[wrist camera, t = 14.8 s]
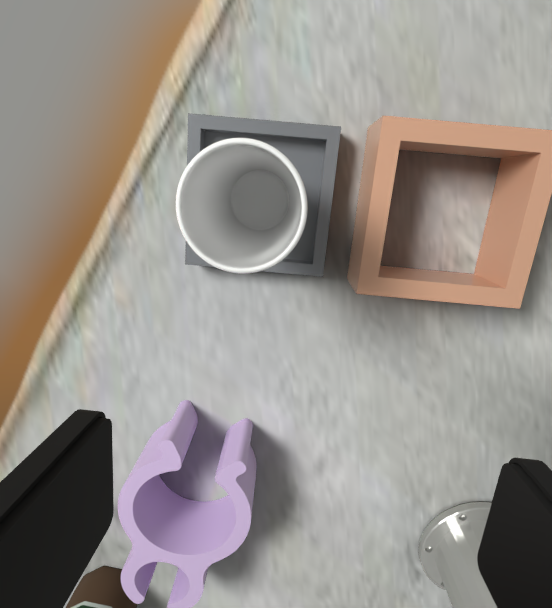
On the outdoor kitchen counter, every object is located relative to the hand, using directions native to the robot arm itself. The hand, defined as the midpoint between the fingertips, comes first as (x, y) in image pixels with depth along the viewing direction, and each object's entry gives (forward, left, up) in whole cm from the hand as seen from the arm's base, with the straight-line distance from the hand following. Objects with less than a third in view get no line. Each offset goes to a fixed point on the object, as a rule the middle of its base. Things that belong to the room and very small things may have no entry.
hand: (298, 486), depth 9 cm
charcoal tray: (+3, -6, -28) cm, 29 cm away
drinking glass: (+3, -6, -27) cm, 28 cm away
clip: (+9, +26, -29) cm, 39 cm away
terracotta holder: (-12, -6, -28) cm, 31 cm away
